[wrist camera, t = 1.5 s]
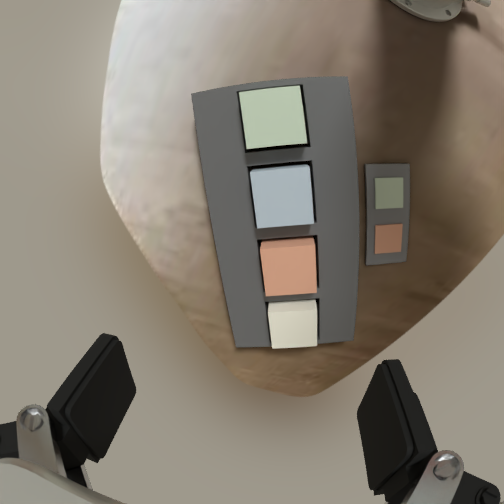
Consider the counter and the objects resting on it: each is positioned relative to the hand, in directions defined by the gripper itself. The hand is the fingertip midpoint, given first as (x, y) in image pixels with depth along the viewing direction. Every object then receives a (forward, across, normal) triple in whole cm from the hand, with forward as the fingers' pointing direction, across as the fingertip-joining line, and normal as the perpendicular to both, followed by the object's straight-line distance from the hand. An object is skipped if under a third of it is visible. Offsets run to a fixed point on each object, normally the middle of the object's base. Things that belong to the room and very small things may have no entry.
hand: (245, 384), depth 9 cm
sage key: (+20, 0, -10) cm, 22 cm away
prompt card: (+22, -13, -2) cm, 25 cm away
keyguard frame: (+22, -2, 0) cm, 22 cm away
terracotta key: (+20, -2, +4) cm, 21 cm away
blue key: (+20, -1, -3) cm, 20 cm away
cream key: (+20, -3, +10) cm, 23 cm away
